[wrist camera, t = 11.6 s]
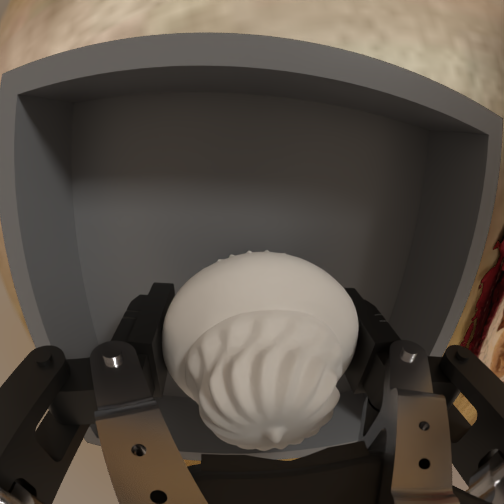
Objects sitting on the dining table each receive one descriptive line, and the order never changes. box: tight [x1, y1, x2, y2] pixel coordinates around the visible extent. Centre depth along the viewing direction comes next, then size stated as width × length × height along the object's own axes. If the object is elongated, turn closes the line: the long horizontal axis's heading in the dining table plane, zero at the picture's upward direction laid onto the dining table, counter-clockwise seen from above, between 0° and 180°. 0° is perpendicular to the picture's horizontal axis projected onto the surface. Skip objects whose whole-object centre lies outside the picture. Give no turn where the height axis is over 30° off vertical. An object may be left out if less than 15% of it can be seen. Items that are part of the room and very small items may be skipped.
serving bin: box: [0, 33, 503, 460], centre depth 11 cm, size 18×18×5 cm
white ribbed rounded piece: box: [162, 250, 359, 451], centre depth 8 cm, size 6×6×7 cm
